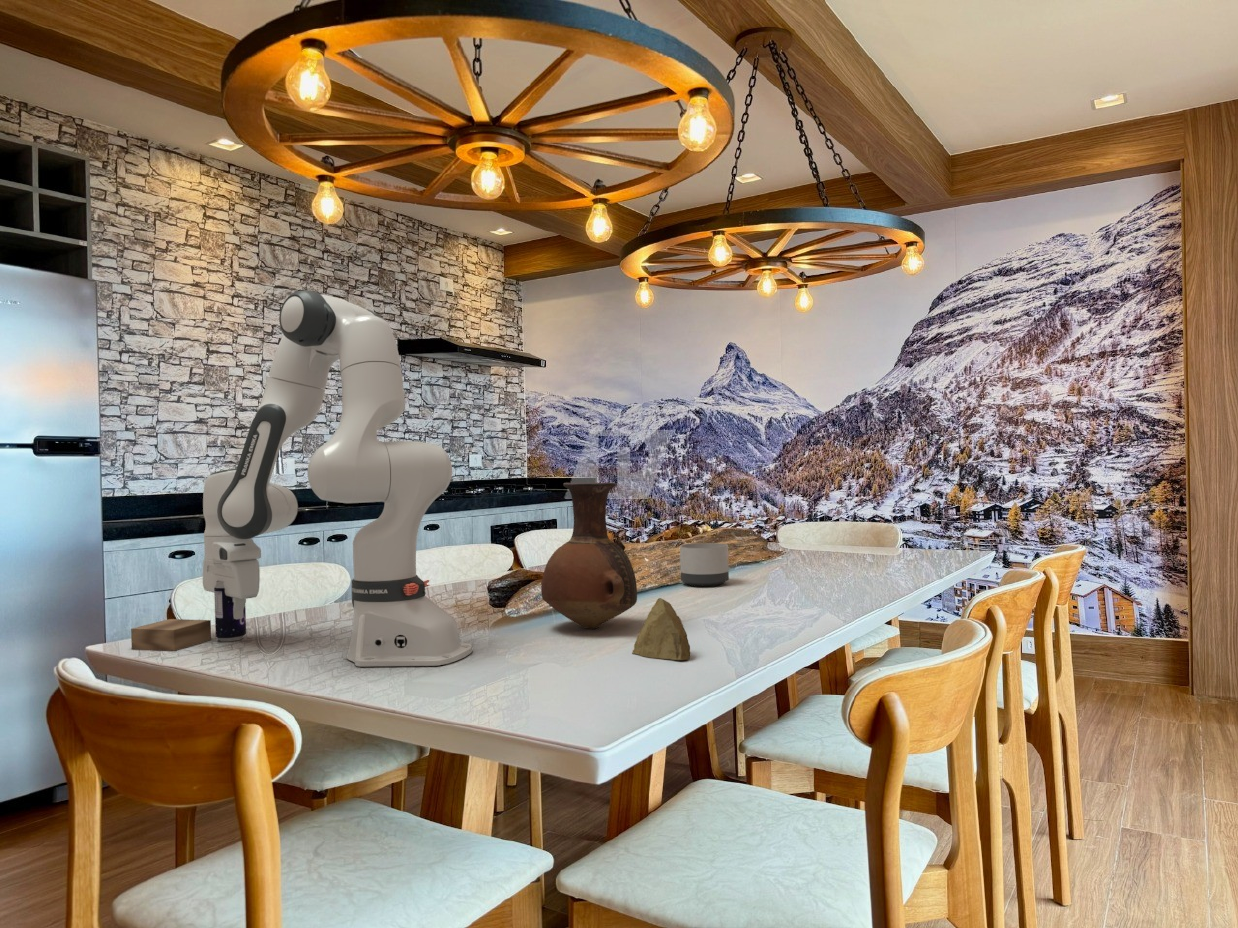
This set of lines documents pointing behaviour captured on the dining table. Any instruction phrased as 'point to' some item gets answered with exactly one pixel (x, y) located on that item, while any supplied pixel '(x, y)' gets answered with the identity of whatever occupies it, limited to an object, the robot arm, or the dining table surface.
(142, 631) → the walnut block
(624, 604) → the vase
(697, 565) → the planter
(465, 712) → the dining table surface
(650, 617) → the rock
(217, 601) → the beverage can
